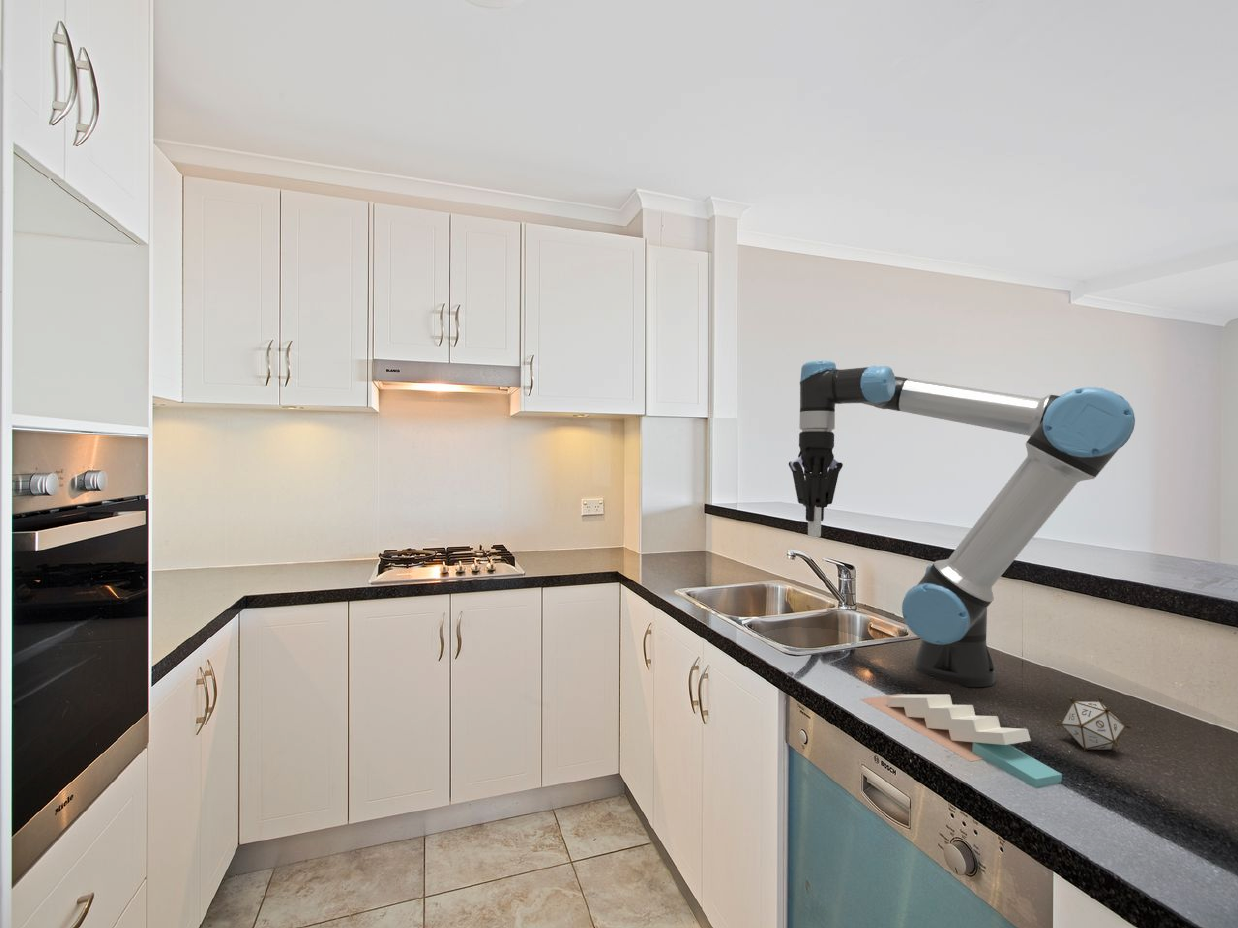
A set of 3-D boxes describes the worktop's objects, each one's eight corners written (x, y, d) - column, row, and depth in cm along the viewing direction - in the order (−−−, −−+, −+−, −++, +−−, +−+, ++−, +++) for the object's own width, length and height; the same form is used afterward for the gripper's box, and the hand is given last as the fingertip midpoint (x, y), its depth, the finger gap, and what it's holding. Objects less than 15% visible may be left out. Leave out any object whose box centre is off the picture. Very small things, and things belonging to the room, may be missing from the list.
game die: (1090, 767, 97) (1106, 711, 100) (1134, 775, 89) (1151, 713, 92) (1037, 735, 98) (1055, 681, 101) (1076, 740, 90) (1094, 680, 93)
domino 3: (924, 717, 101) (973, 719, 92) (947, 714, 102) (997, 716, 93) (926, 727, 100) (976, 731, 91) (950, 724, 102) (1000, 727, 93)
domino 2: (904, 706, 105) (948, 708, 96) (926, 703, 107) (972, 704, 98) (906, 716, 105) (951, 718, 96) (929, 713, 106) (975, 715, 97)
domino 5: (973, 742, 92) (1035, 779, 82) (997, 737, 93) (1062, 774, 84) (972, 752, 92) (1034, 790, 82) (996, 747, 93) (1061, 785, 84)
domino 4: (948, 729, 96) (1002, 732, 87) (972, 725, 98) (1027, 728, 89) (951, 740, 96) (1005, 744, 87) (975, 736, 97) (1030, 740, 88)
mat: (860, 701, 112) (860, 698, 112) (902, 696, 115) (902, 693, 115) (970, 765, 89) (970, 761, 89) (1020, 756, 92) (1020, 752, 92)
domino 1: (885, 697, 109) (926, 697, 100) (907, 694, 111) (949, 694, 102) (887, 706, 109) (929, 707, 100) (909, 703, 110) (952, 704, 101)
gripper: (830, 432, 140) (828, 533, 140) (782, 430, 136) (779, 534, 136) (852, 431, 132) (849, 537, 133) (801, 429, 128) (799, 538, 129)
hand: (814, 535), depth 134 cm, fingers closed
